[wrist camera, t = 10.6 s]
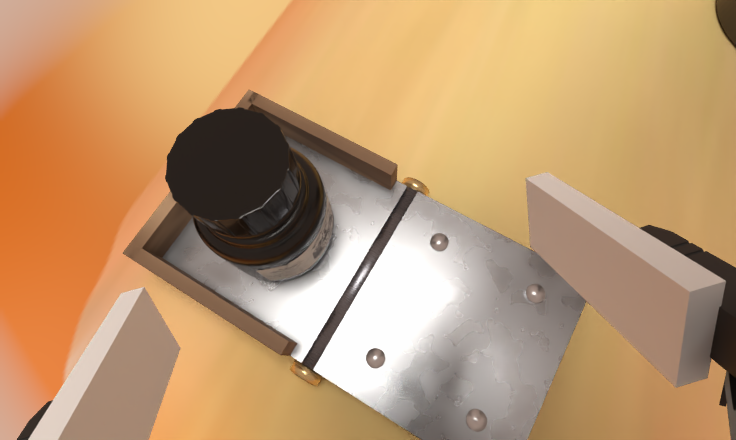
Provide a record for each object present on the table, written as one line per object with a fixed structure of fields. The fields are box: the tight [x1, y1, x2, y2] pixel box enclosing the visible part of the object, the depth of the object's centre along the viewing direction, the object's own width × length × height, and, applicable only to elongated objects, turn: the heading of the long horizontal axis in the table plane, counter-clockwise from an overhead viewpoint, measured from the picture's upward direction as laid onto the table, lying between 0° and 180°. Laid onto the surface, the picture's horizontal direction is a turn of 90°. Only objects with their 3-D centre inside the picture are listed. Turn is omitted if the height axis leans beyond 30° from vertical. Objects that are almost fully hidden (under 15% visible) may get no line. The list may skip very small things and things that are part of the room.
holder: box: [123, 90, 397, 355], centre depth 33 cm, size 16×14×3 cm
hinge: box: [162, 135, 586, 440], centre depth 34 cm, size 18×31×3 cm, turn 60°
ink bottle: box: [165, 107, 334, 281], centre depth 28 cm, size 10×9×12 cm
